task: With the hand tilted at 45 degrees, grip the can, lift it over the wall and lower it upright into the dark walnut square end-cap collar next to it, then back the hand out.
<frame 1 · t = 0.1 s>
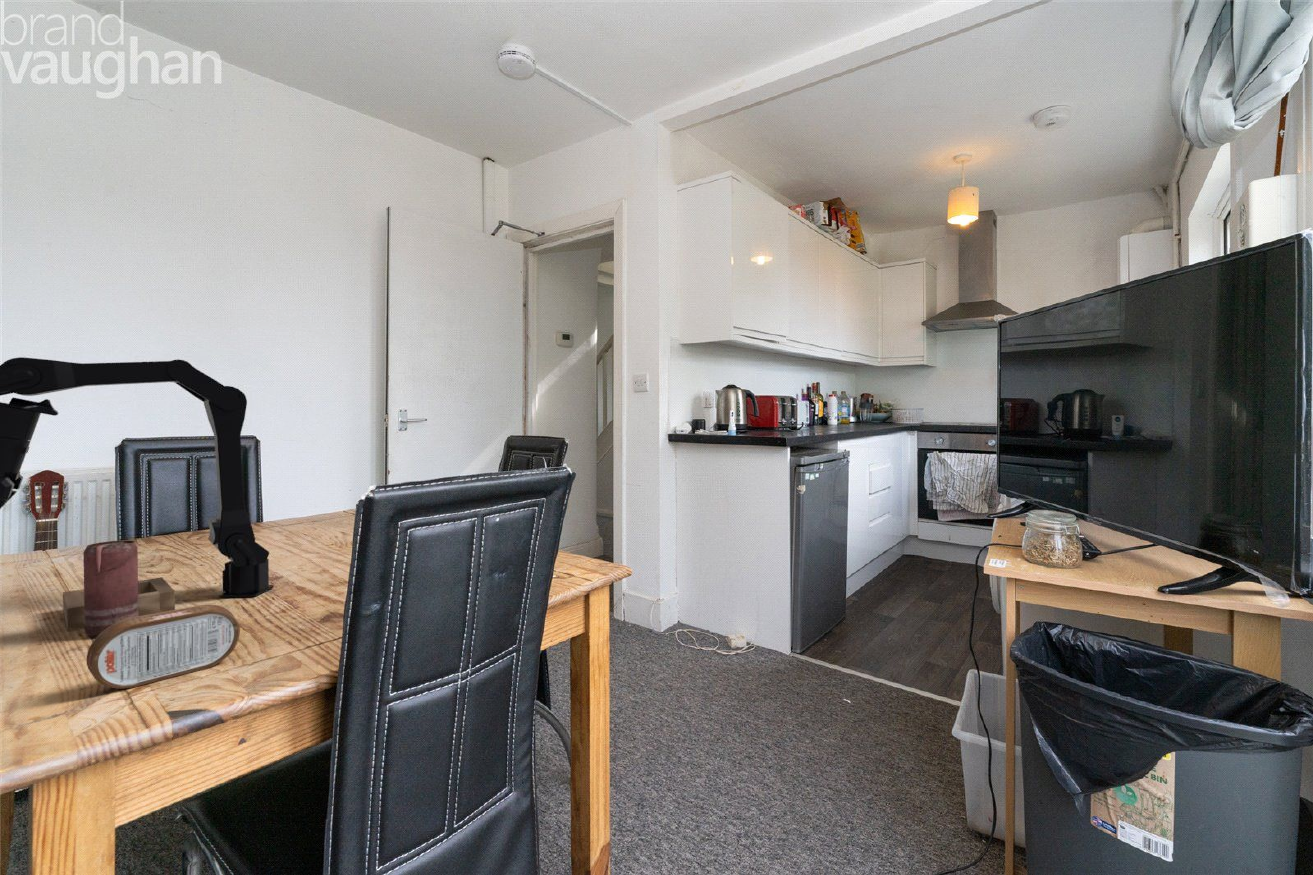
tin: (169, 678, 74), on the table
can: (111, 633, 89), on the table
collar: (119, 611, 98), on the table
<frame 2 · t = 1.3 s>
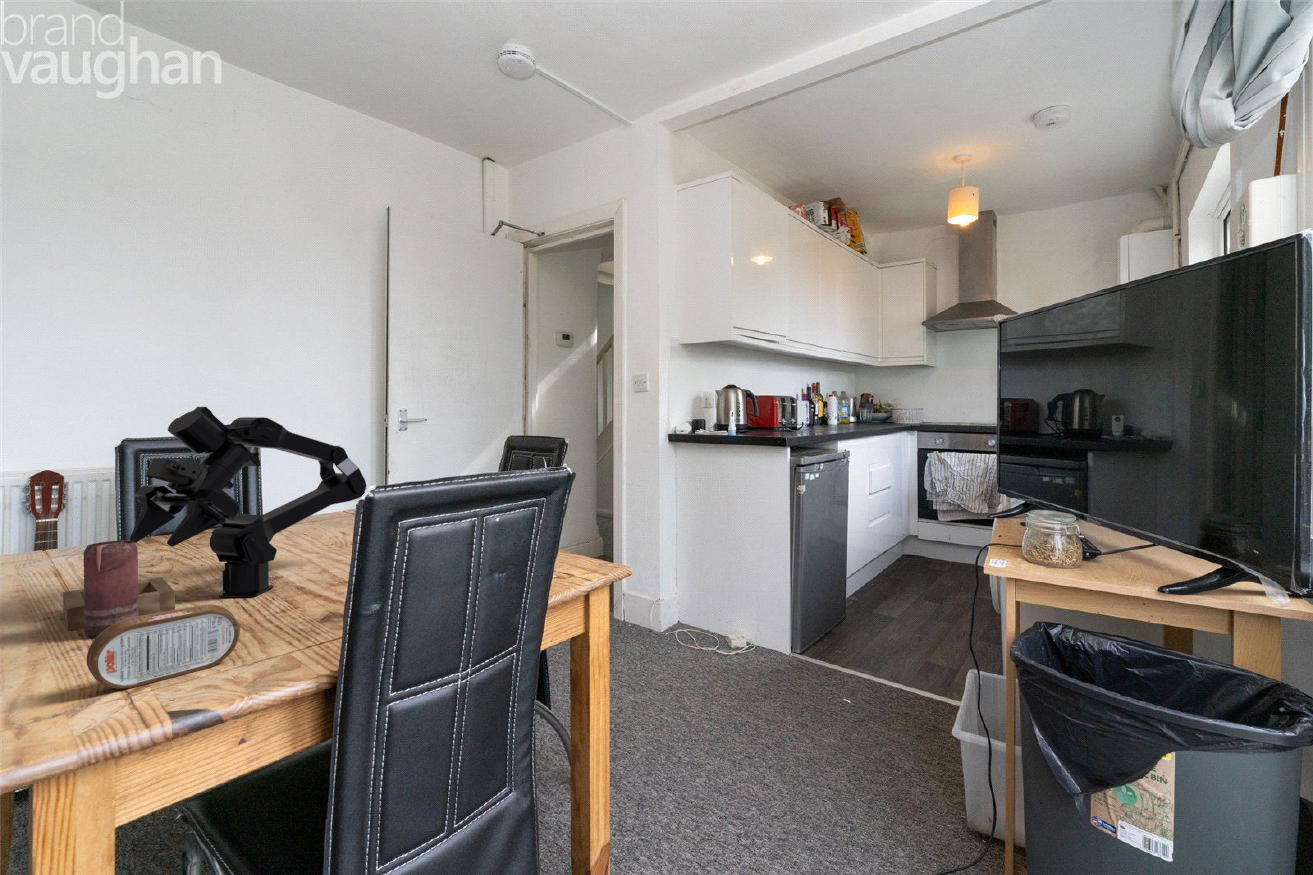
hand: (150, 543, 94), 13 cm above the table, tool tilted 45°, fingers open, 9 cm apart
nothing on the table moved.
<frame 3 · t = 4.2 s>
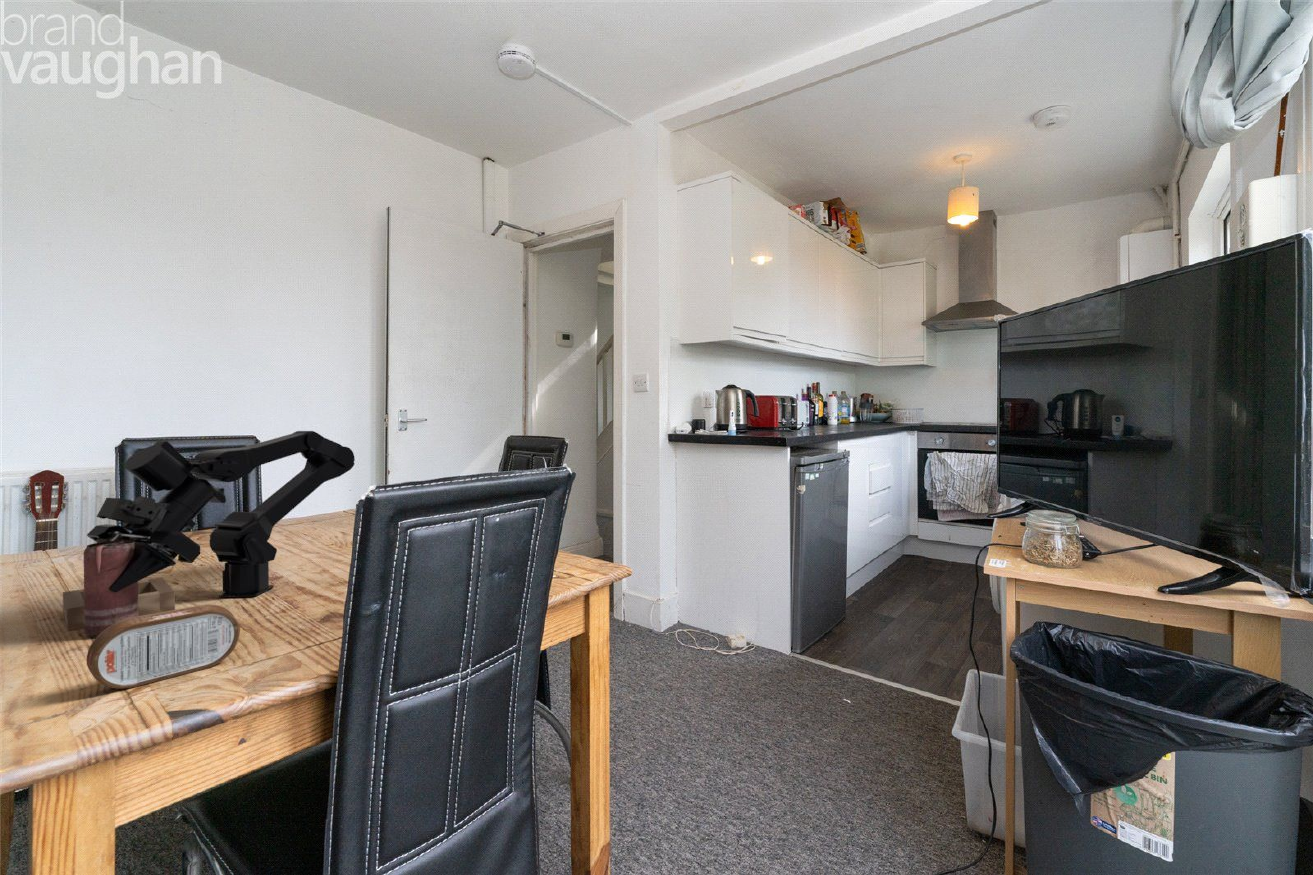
hand: (100, 589, 87), 7 cm above the table, tool tilted 45°, fingers closed on can, 5 cm apart
can: (111, 632, 89), on the table, touching gripper
everything else where it was.
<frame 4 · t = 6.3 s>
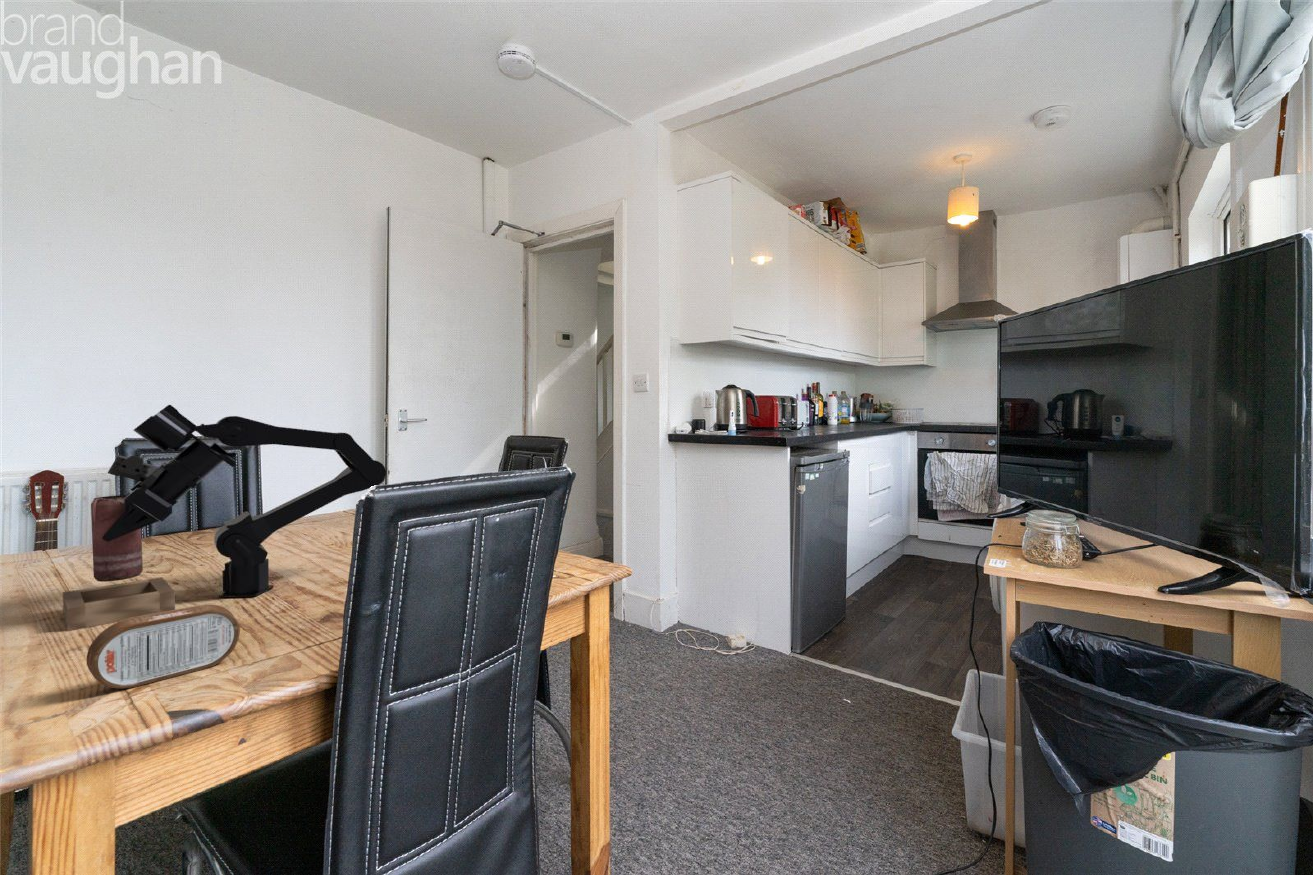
hand: (105, 537, 96), 13 cm above the table, tool tilted 45°, fingers closed on can, 5 cm apart
can: (118, 578, 97), point 6 cm above the table, touching gripper
everything else where it was.
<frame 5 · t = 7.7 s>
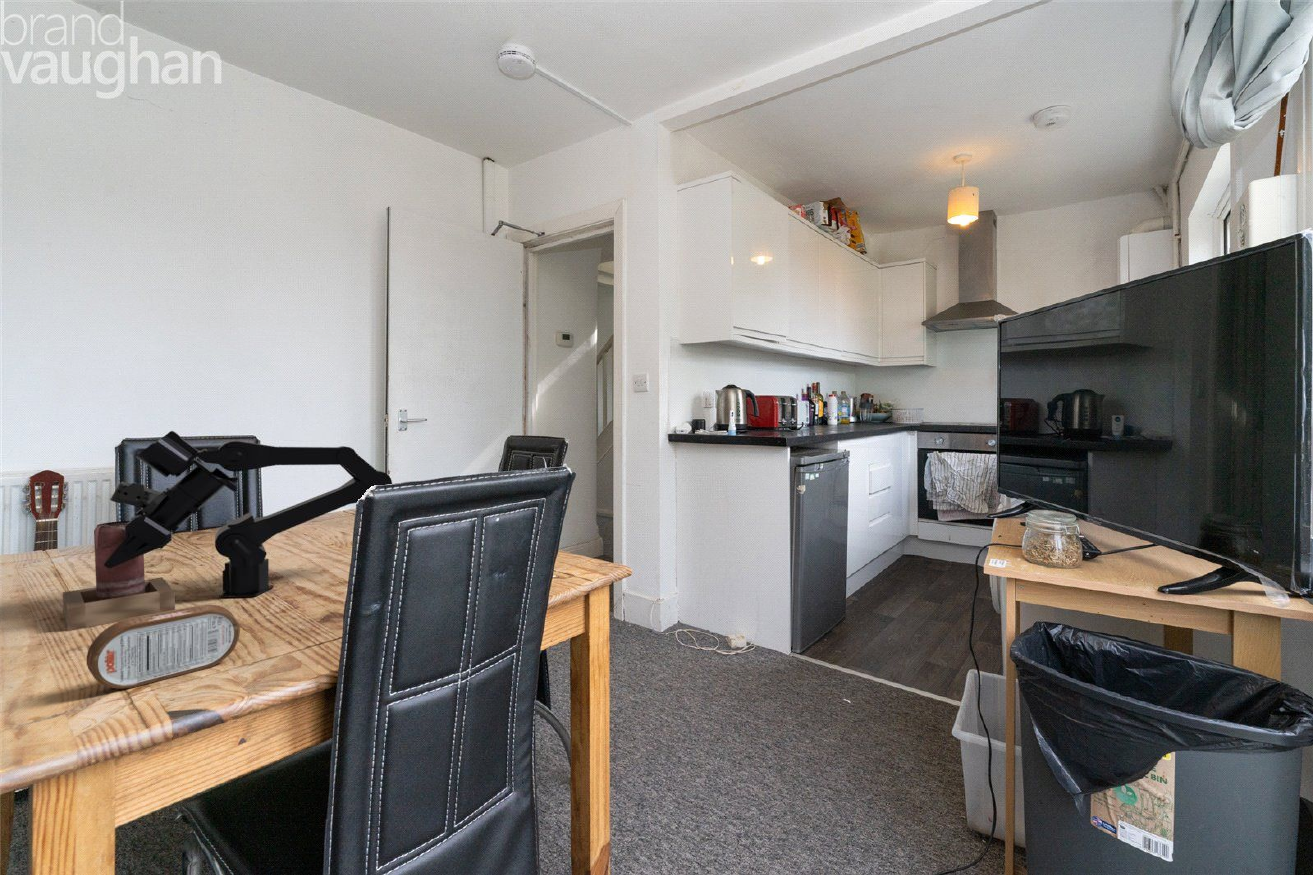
hand: (108, 563, 97), 9 cm above the table, tool tilted 45°, fingers closed on can, 5 cm apart
can: (120, 603, 98), point 1 cm above the table, touching gripper
everything else where it was.
when the fingers open (9 cm above the table, at t = 8.3 s): can drops 1 cm, resting on collar.
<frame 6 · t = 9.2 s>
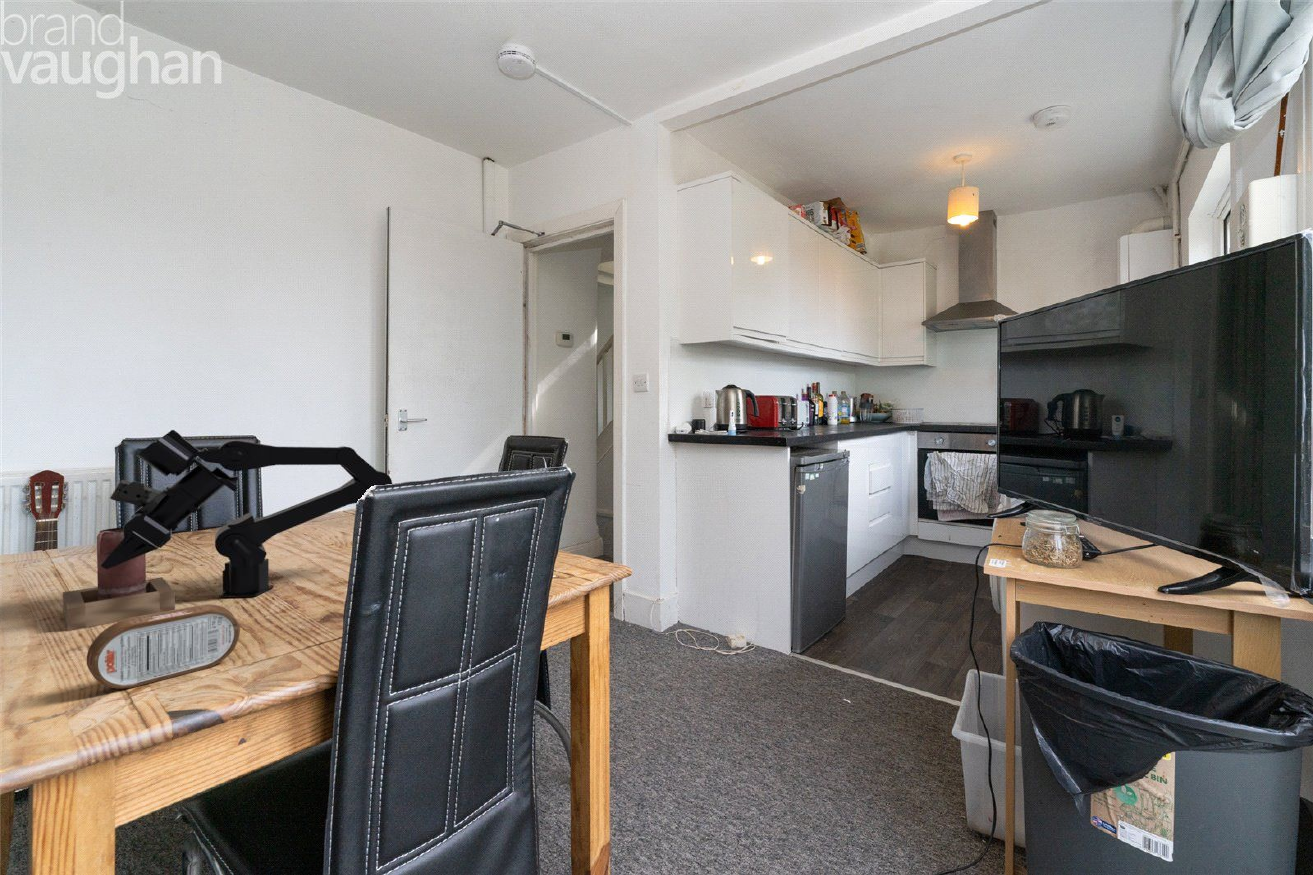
hand: (107, 562, 97), 9 cm above the table, tool tilted 45°, fingers open, 9 cm apart
can: (121, 610, 98), resting on collar
everything else where it was.
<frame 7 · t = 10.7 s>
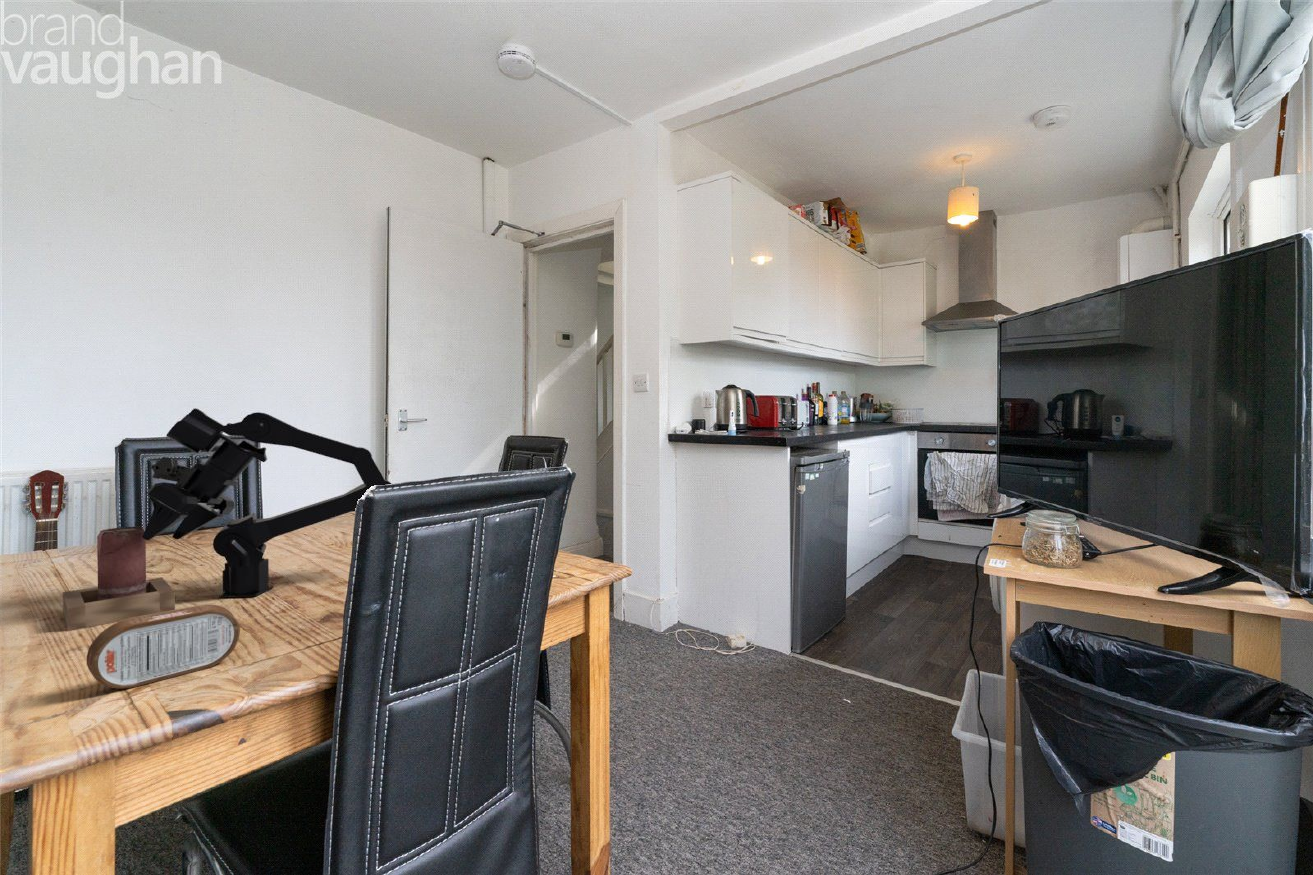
hand: (160, 538, 103), 12 cm above the table, tool tilted 35°, fingers open, 9 cm apart
nothing on the table moved.
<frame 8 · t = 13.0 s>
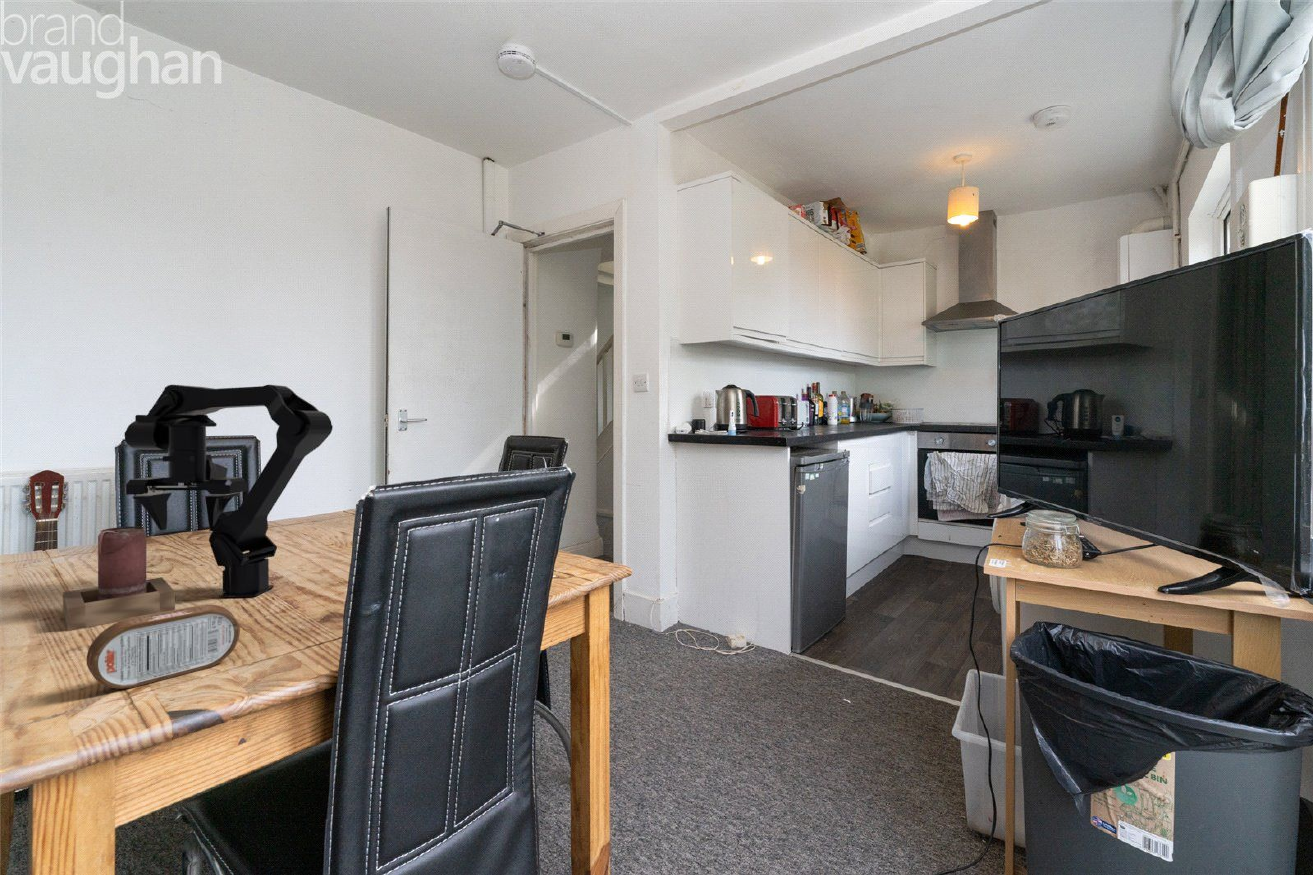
hand: (188, 530, 110), 12 cm above the table, tool pointing down, fingers open, 9 cm apart
nothing on the table moved.
at the end: can 0.3 cm off-centre on the collar, point 0.3 cm above the collar's base; can tilted 1°; the gripper is holding nothing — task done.
